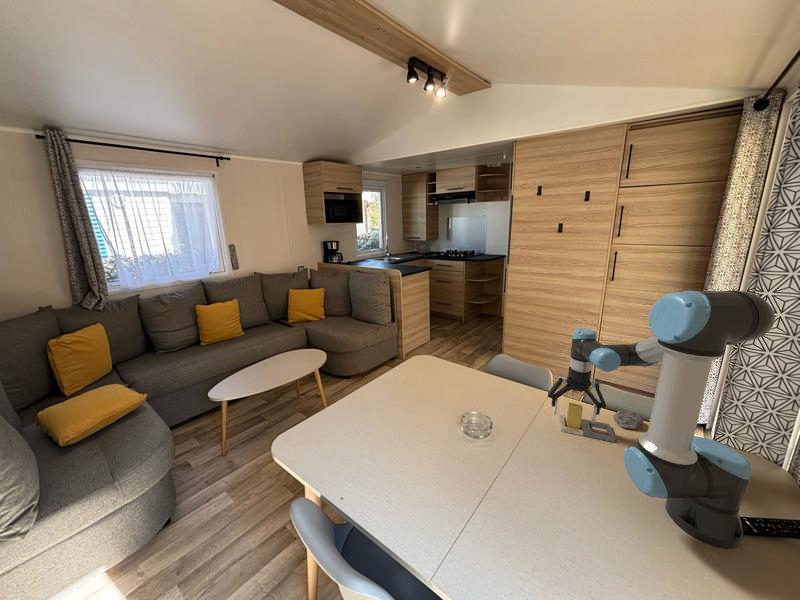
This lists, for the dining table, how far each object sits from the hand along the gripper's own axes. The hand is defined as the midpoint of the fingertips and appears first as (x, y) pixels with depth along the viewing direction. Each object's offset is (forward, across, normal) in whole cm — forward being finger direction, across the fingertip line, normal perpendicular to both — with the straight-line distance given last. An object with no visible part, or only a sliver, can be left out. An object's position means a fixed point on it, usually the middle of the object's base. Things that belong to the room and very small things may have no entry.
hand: (573, 417), depth 124 cm
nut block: (+4, 0, 0) cm, 4 cm away
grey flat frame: (+4, -4, 0) cm, 6 cm away
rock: (+5, -21, -11) cm, 24 cm away
